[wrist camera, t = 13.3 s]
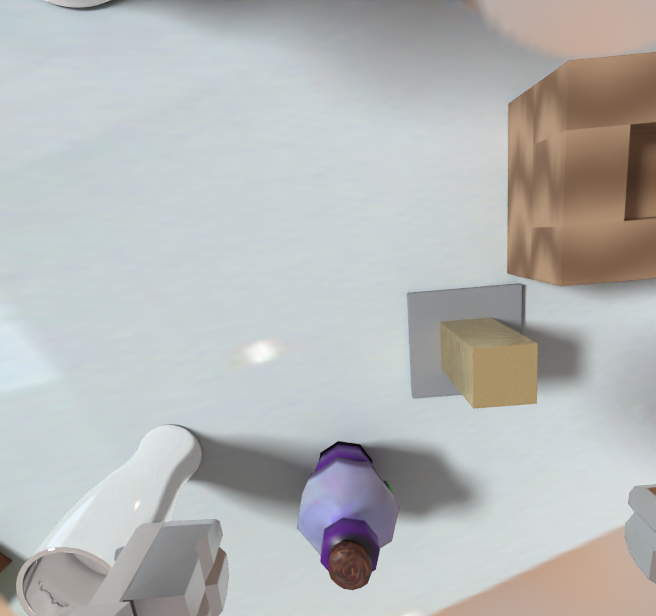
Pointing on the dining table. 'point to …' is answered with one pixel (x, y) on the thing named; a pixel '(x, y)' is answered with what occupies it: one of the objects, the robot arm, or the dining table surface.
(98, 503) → the beer glass
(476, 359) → the tan wooden block
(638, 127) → the wooden slotted box
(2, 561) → the hardcover book
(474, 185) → the dining table surface
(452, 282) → the dining table surface
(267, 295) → the dining table surface
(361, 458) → the potion bottle
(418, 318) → the slate pad
